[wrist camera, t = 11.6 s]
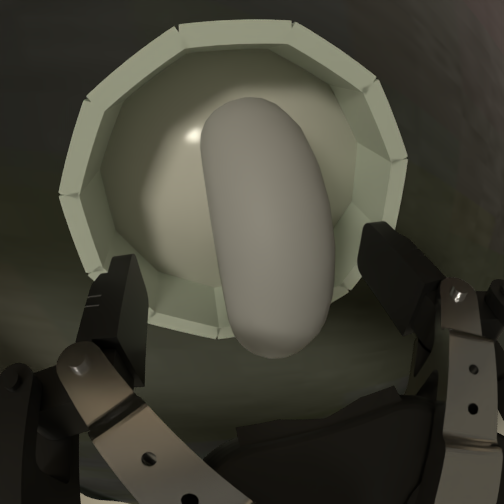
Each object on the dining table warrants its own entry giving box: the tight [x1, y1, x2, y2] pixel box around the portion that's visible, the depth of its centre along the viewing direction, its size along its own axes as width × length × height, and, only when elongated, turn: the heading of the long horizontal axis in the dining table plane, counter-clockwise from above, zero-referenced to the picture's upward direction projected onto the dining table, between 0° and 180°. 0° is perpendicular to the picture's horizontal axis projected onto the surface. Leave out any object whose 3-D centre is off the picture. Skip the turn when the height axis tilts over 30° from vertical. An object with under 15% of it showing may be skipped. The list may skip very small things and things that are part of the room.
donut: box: [200, 97, 335, 359], centre depth 12 cm, size 10×4×10 cm, turn 4°
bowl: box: [59, 20, 408, 339], centre depth 15 cm, size 16×16×4 cm
